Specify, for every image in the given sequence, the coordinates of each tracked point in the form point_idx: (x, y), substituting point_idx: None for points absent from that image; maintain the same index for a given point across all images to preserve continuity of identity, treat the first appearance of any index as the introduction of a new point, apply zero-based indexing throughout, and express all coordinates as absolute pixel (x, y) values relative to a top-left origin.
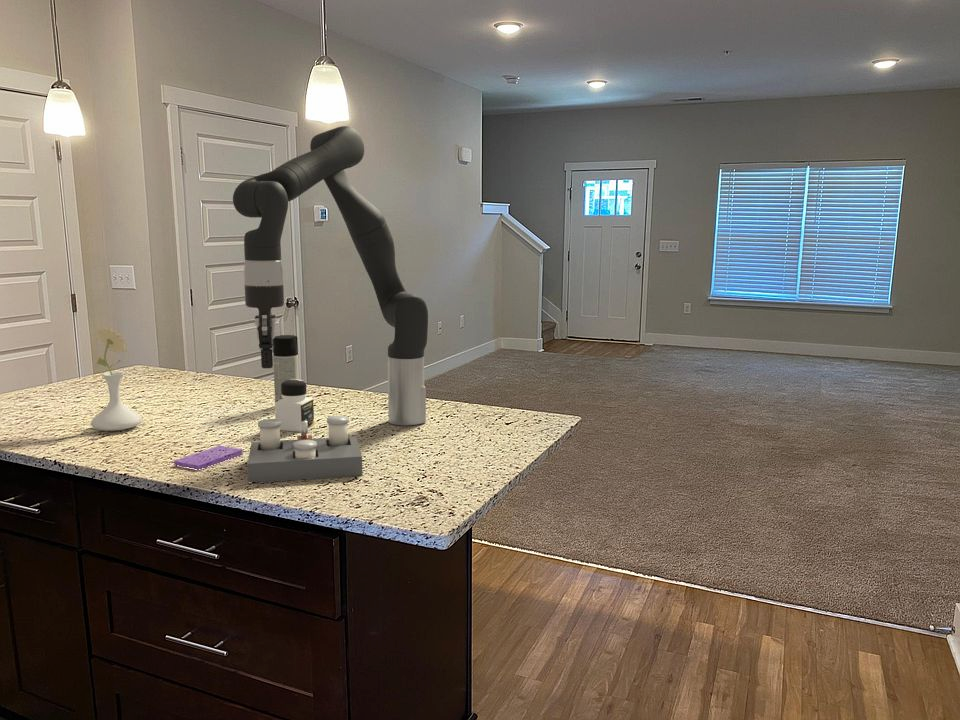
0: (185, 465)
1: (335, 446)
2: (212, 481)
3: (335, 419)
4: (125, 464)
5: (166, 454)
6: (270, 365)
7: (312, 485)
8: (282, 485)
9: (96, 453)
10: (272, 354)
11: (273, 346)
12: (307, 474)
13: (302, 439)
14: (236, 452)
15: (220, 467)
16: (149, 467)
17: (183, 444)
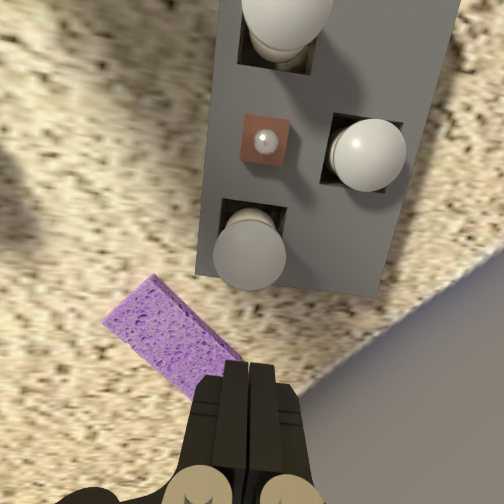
0: None
1: (322, 47)
2: (316, 336)
3: (303, 11)
4: (159, 458)
5: (111, 404)
6: (290, 386)
7: (439, 151)
8: (405, 215)
9: None
10: (228, 423)
11: (210, 483)
12: None
13: (284, 151)
14: (163, 291)
15: (232, 320)
16: None
17: (42, 377)
